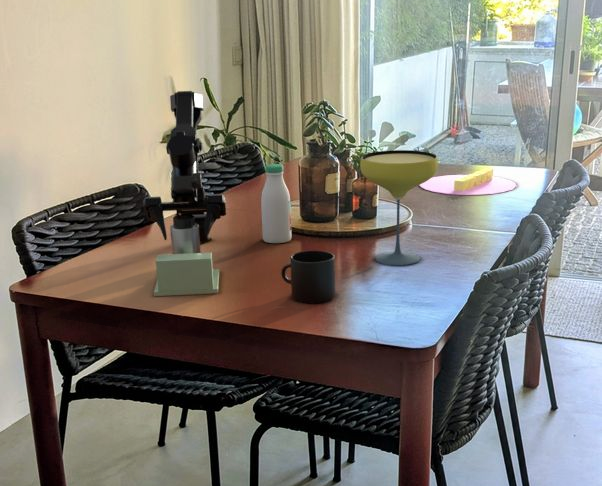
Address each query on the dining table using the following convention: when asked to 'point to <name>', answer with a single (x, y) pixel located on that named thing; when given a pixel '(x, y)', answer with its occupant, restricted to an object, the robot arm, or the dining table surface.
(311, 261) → the mug
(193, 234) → the steel travel tumbler
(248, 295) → the dining table surface
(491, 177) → the platter
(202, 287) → the pale green butter dish
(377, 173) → the cocktail glass
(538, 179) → the dining table surface
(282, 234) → the milk bottle
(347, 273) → the dining table surface
